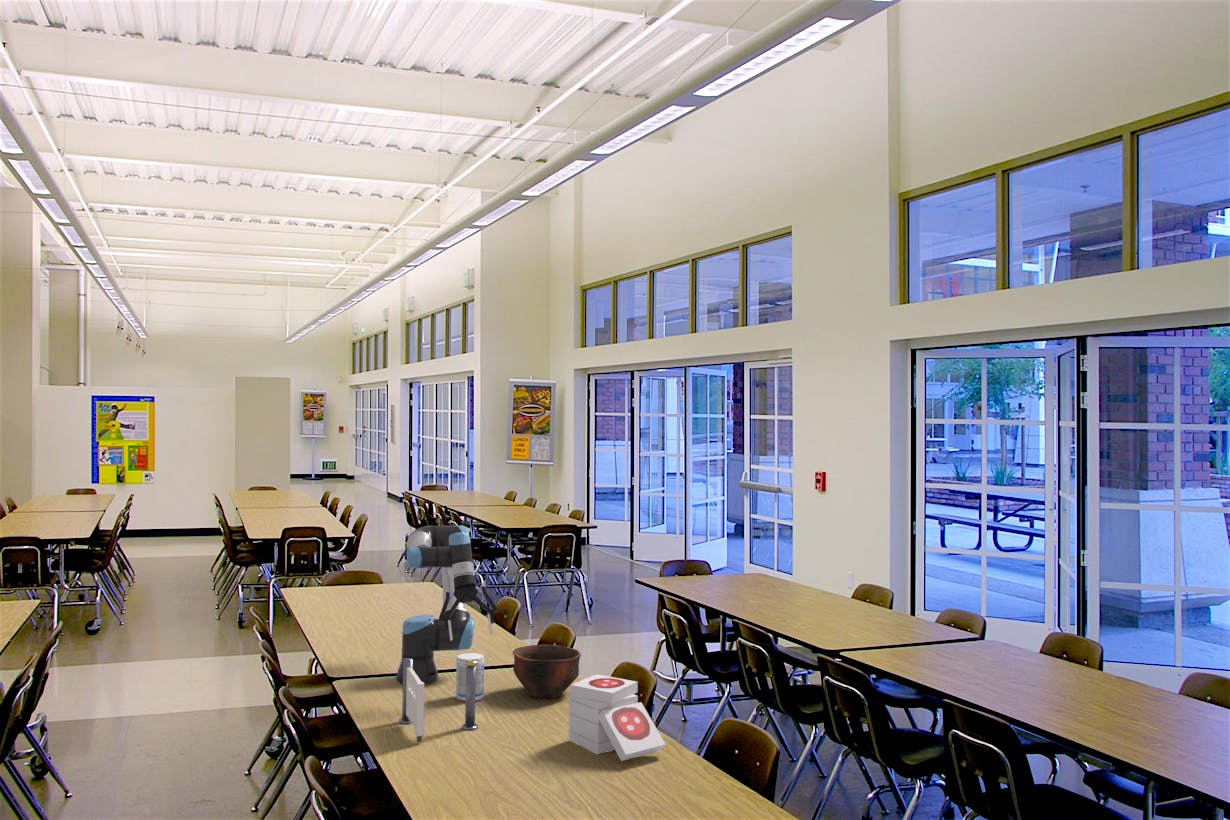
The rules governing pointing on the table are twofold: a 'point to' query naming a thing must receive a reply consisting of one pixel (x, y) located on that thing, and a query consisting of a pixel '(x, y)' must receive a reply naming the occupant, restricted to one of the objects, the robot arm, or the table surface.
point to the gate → (415, 702)
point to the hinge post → (406, 664)
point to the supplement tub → (462, 676)
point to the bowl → (546, 669)
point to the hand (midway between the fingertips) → (471, 636)
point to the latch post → (470, 695)
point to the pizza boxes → (611, 718)
